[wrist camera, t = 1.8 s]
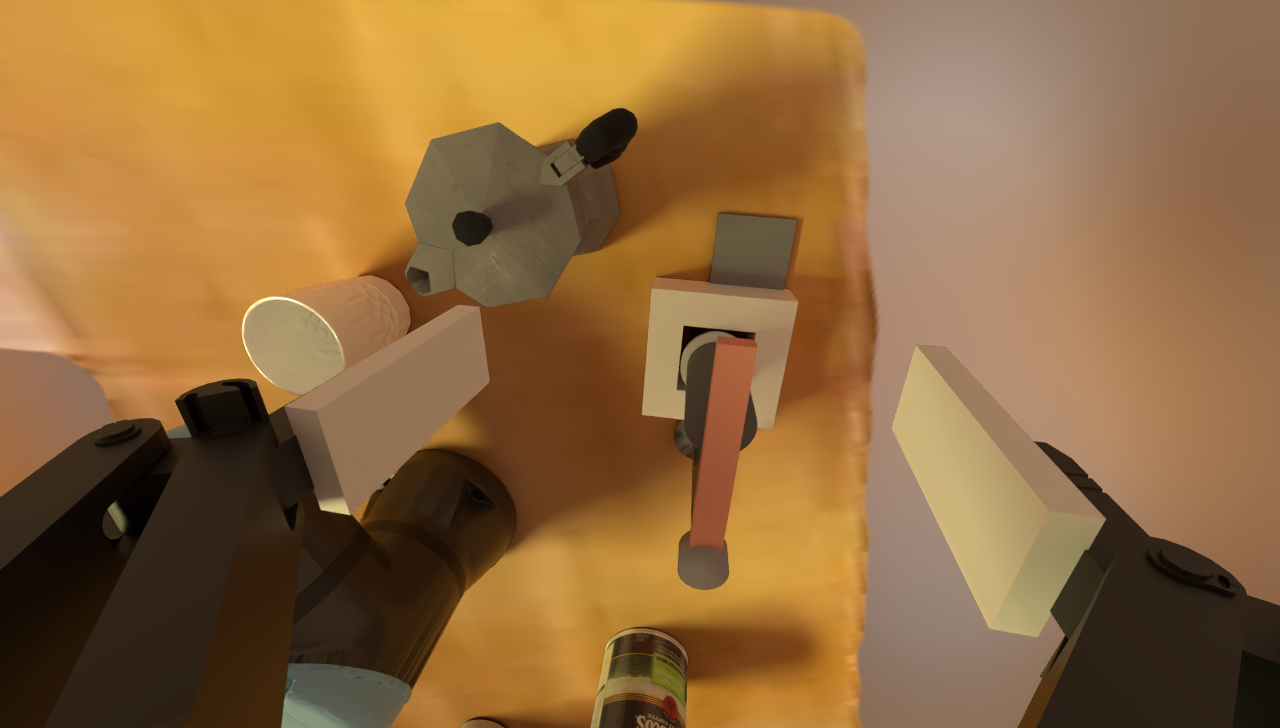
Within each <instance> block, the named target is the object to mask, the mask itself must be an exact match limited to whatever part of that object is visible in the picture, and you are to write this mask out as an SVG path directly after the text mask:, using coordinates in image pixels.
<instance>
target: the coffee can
mask: <svg viewBox="0 0 1280 728" xmlns="http://www.w3.org/2000/svg"><path fill="white" fill-rule="evenodd" d="M687 668H688V656H687V653H686V651H685V649H684V648H683V646H682V645H681V644H680V643H679V642H678V641H677V640H676V639H674V638H673V637H671V636H669V635H668V634H666V633H664V632H661V631H658V630H654V629H648V628H632V629H627V630H624V631H621V632H619V633H617V634H616V635H614V636H613V637H612V638H611V639H610V640H609V642H608V643H607V645H606V649H605V657H604V662H603V667H602V672H601V677H600V682H599V687H598V692H597V697H596V702H595V708H594V713H593V718H592V723H591V728H686V700H687Z"/></svg>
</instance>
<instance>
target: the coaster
mask: <svg viewBox="0 0 1280 728" xmlns="http://www.w3.org/2000/svg"><path fill="white" fill-rule="evenodd" d="M796 224H797V220H796V219H786V218H773V217H761V216H748V215H736V214H724V213H718V220H717V228H716V236H715V244H714V252H713V260H712V268H711V276H710V283H712V284H722V285H733V286H744V287H755V288H766V289H777V290H784V287H785V282H786V276H787V271H788V266H789V261H790V255H791V250H792V245H793V239H794V234H795V229H796Z"/></svg>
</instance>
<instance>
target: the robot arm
mask: <svg viewBox="0 0 1280 728" xmlns="http://www.w3.org/2000/svg"><path fill="white" fill-rule="evenodd" d="M489 382H490V380H489V373H488V365H487V358H486V351H485V343H484V336H483V329H482V321H481V314H480V307H478V306H466V305H457V306H455V307H453V308H452V309H450V310H448V311H446V312H445V313H443V314H441V315H440V316H438V317H436V318H435V319H433V320H431V321H429V322H428V323H426V324H424V325H423V326H421V327H419V328H417V329H416V330H414V331H412V332H411V333H409V334H407V335H405V336H404V337H402V338H400V339H399V340H397V341H395V342H394V343H392V344H390V345H388V346H387V347H385V348H383V349H382V350H380V351H378V352H376V353H375V354H373V355H371V356H370V357H368V358H366V359H364V360H363V361H361V362H359V363H358V364H356V365H354V366H352V367H351V368H349V369H347V370H346V371H344V372H342V373H340V374H338V375H336V376H335V377H333V378H331V379H329V380H328V381H326V382H325V383H323V384H321V385H319V386H317V387H316V388H314V389H312V390H311V391H310V392H307V393H305V394H304V395H302V396H300V397H299V398H297V399H295V400H293V401H292V402H290V403H288V404H287V405H285V406H283V407H281V408H280V409H278V410H276V411H275V412H273V413H271V414H269V415H268V412H267V410H266V407H265V404H264V402H263V399H262V396H261V394H260V391H259V389H258V386H257V383H256V382H255V381H252V380H250V379H229V380H222V381H217V382H213V383H209V384H206V385H203V386H200V387H197V388H194V389H192V390H190V391H188V392H186V393H184V394H182V395H181V396H180V397H179V398H178V399H177V400H175V402H176V405H177V407H178V409H179V411H180V413H181V415H182V417H183V419H184V422H185V424H184V425H182V426H179V427H176V428H174V429H171V430H168V431H166V432H165V430H164V428H163V426H162V424H161V422H160V420H156V419H153V418H144V419H134V420H122V421H118V422H116V423H111V424H108V425H105V426H103V427H102V428H101V429H98V430H96V431H93V432H91V433H89V434H88V435H86V436H84V437H82V438H80V439H79V440H77V441H76V442H75V443H73V444H72V445H70V446H69V447H68V448H66V449H65V450H64V451H62V452H61V453H60V454H58V455H57V456H56V457H54V458H53V459H52V460H50V461H49V462H47V463H46V464H45V465H43V466H42V467H41V468H40V469H38V470H37V471H35V472H34V473H33V474H31V475H30V476H28V477H27V478H26V479H24V480H23V481H22V482H20V483H19V484H18V485H16V486H15V487H14V488H12V489H11V490H10V491H8V492H7V493H5V494H4V495H3V496H1V497H0V728H390V726H391V725H392V723H393V722H394V720H395V719H396V717H397V715H398V714H399V712H400V711H401V709H402V708H403V706H404V704H406V703H407V702H408V700H409V699H410V697H411V693H412V689H413V687H414V685H415V684H416V682H417V680H418V678H419V676H420V674H421V672H422V670H423V669H424V667H425V665H426V663H427V661H428V659H429V657H430V656H431V654H432V652H433V650H434V648H435V646H436V644H437V642H438V641H439V639H440V637H441V635H442V633H443V631H444V629H445V627H446V626H447V624H448V622H449V620H450V618H451V616H452V614H453V613H454V611H455V609H456V607H457V605H458V603H459V601H460V599H461V598H462V596H463V594H464V592H465V591H466V590H468V589H469V588H470V587H471V586H472V585H473V584H474V583H475V582H476V581H477V580H479V579H480V578H481V577H482V576H483V575H484V574H485V573H486V572H487V571H488V570H489V569H490V568H491V567H493V566H494V565H495V564H496V563H497V562H498V561H499V560H500V559H501V557H502V556H503V554H504V553H505V551H506V549H507V547H508V545H509V543H510V541H511V539H512V537H513V535H514V532H515V528H516V512H515V508H514V504H513V502H512V499H511V497H510V495H509V493H508V492H507V490H506V488H505V487H504V486H503V484H502V483H501V482H500V481H499V480H498V479H497V478H496V477H495V476H494V475H493V474H492V473H491V472H490V471H489V470H487V469H486V468H485V467H483V466H482V465H480V464H479V463H477V462H475V461H473V460H471V459H469V458H467V457H464V456H462V455H459V454H455V453H452V452H447V451H439V450H426V451H420V452H417V451H418V450H419V449H420V448H421V447H422V446H423V445H424V444H425V443H426V442H427V441H428V440H429V439H430V438H431V437H432V436H433V435H435V434H436V433H437V432H438V431H439V430H440V429H441V428H442V427H443V426H444V425H445V424H446V423H447V422H448V421H449V420H450V419H451V418H452V417H453V416H454V415H455V414H457V413H458V412H459V411H460V410H461V409H462V408H463V407H464V406H465V405H466V404H467V403H468V402H469V401H470V400H471V399H472V398H473V397H474V396H475V395H476V394H477V393H478V392H480V391H481V390H482V389H483V388H484V387H485V386H486V385H487V384H488V383H489ZM892 431H893V433H894V435H895V436H896V439H897V441H898V443H899V445H900V446H901V449H902V451H903V453H904V455H905V457H906V459H907V461H908V463H909V465H910V467H911V469H912V471H913V473H914V475H915V477H916V479H917V482H918V484H919V486H920V487H921V490H922V492H923V494H924V496H925V498H926V500H927V502H928V504H929V506H930V508H931V510H932V512H933V514H934V516H935V518H936V520H937V522H938V524H939V526H940V528H941V531H942V533H943V535H944V537H945V539H946V541H947V543H948V545H949V547H950V549H951V551H952V553H953V555H954V557H955V559H956V561H957V563H958V565H959V567H960V569H961V571H962V573H963V575H964V577H965V580H966V582H967V584H968V586H969V588H970V590H971V592H972V594H973V596H974V598H975V600H976V602H977V604H978V606H979V608H980V610H981V612H982V614H983V616H984V618H985V620H986V622H987V624H988V626H989V629H994V630H999V631H1005V632H1010V633H1016V634H1021V635H1027V636H1033V637H1038V636H1039V634H1040V632H1041V631H1042V628H1043V627H1044V625H1045V624H1046V622H1047V620H1048V618H1049V617H1050V615H1051V613H1052V615H1053V617H1054V618H1055V619H1056V621H1057V623H1058V624H1059V626H1060V627H1061V629H1062V631H1063V632H1064V634H1065V637H1064V638H1063V640H1062V641H1061V643H1060V645H1059V646H1058V648H1057V649H1056V651H1055V653H1054V654H1053V656H1052V657H1051V659H1050V661H1049V662H1048V664H1047V666H1046V667H1045V669H1044V670H1043V672H1042V674H1041V675H1040V677H1042V680H1041V682H1040V684H1039V686H1038V688H1037V690H1036V692H1035V694H1034V696H1033V698H1032V700H1031V702H1030V704H1029V706H1028V708H1027V710H1026V712H1025V714H1024V716H1023V718H1022V720H1021V722H1020V724H1019V726H1018V728H1280V606H1279V605H1276V604H1273V603H1270V602H1267V601H1264V600H1260V599H1257V598H1254V597H1251V596H1248V595H1247V593H1246V590H1245V588H1244V587H1243V586H1242V585H1241V584H1240V583H1239V581H1238V580H1236V579H1235V577H1234V576H1233V575H1232V574H1231V573H1229V572H1228V571H1226V570H1225V569H1224V568H1222V567H1221V566H1219V565H1218V564H1216V563H1215V562H1214V561H1212V560H1210V559H1209V558H1207V557H1205V556H1203V555H1201V554H1199V553H1197V552H1195V551H1193V550H1191V549H1189V548H1187V547H1184V546H1181V545H1179V544H1176V543H1173V542H1170V541H1167V540H1165V539H1159V538H1155V537H1150V536H1149V535H1148V534H1147V533H1146V532H1145V531H1144V530H1143V529H1142V528H1141V527H1140V526H1139V525H1138V524H1137V523H1135V521H1134V520H1133V519H1132V518H1131V517H1130V516H1129V515H1128V514H1127V513H1126V512H1125V511H1124V510H1122V508H1121V507H1120V506H1119V505H1117V503H1116V502H1115V501H1114V500H1113V499H1112V498H1111V497H1110V496H1109V495H1108V494H1106V493H1103V492H1102V488H1101V487H1100V486H1099V485H1098V484H1097V483H1096V482H1095V481H1094V480H1093V479H1091V478H1088V474H1087V473H1086V472H1085V471H1084V470H1083V469H1082V468H1081V467H1080V466H1078V464H1077V463H1076V462H1075V461H1074V460H1073V459H1072V458H1070V457H1068V456H1067V455H1065V454H1064V453H1062V452H1060V451H1059V450H1057V449H1055V448H1054V447H1052V446H1051V445H1049V444H1047V443H1044V442H1035V441H1033V440H1032V439H1031V438H1030V437H1029V436H1028V435H1027V434H1026V433H1025V432H1024V430H1022V428H1021V427H1020V426H1019V425H1018V424H1017V423H1016V422H1015V421H1014V420H1013V419H1012V418H1011V417H1010V415H1009V414H1008V413H1007V412H1006V411H1005V410H1004V409H1003V408H1002V407H1001V406H1000V405H999V404H998V403H997V401H996V400H995V399H994V398H993V397H992V396H991V395H990V394H989V393H988V392H987V391H986V390H985V389H984V388H983V386H982V385H981V384H980V383H979V382H978V381H977V380H976V379H975V378H974V377H973V376H972V375H971V374H970V373H969V371H968V370H967V369H966V368H965V367H964V366H963V365H962V364H961V363H960V362H959V361H958V360H957V359H956V358H955V357H954V355H953V354H952V353H951V352H950V351H949V350H948V349H947V348H946V347H936V346H925V345H916V347H915V349H914V353H913V356H912V360H911V364H910V367H909V370H908V374H907V377H906V381H905V384H904V387H903V391H902V394H901V398H900V401H899V404H898V408H897V411H896V415H895V418H894V422H893V425H892ZM370 496H371V497H370ZM369 497H370V499H369V501H368V504H367V506H366V508H365V511H364V513H363V515H362V518H361V520H360V522H358V521H357V520H356V519H355V518H354V517H353V515H352V513H353V512H354V511H355V510H356V509H357V508H358V507H359V506H360V505H361V504H362V503H363V502H364V501H365V500H367V499H368V498H369Z"/></svg>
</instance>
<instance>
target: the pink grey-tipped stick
mask: <svg viewBox="0 0 1280 728" xmlns="http://www.w3.org/2000/svg"><path fill="white" fill-rule="evenodd" d="M756 354H757V345H756V342H755V340H750V339H740V338H730V337H720V336H717V343H716V350H715V357H714V364H713V372H712V379H711V386H710V393H709V400H708V408H707V415H706V422H705V429H704V436H703V444H702V451H701V458H700V465H699V472H698V480H697V487H696V494H695V501H694V508H693V516H692V523H691V530H690V531H689V532H687V533H685V534H684V535H683V536H682V538H681V539H680V542H679V552H678V574H679V576H680V578H681V580H682V581H683V582H684V583H685V584H687V585H689V586H690V587H693V588H696V589H700V590H709V589H714V588H717V587H719V586H721V585H722V584H723V583H724V582H725V581H726V580H727V578H728V575H729V565H728V552H727V544H726V541H725V539H724V536H725V530H726V525H727V519H728V513H729V508H730V502H731V496H732V491H733V485H734V479H735V474H736V468H737V462H738V456H739V451H740V445H741V439H742V434H743V428H744V422H745V417H746V411H747V405H748V400H749V394H750V388H751V382H752V377H753V371H754V365H755V360H756Z"/></svg>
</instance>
